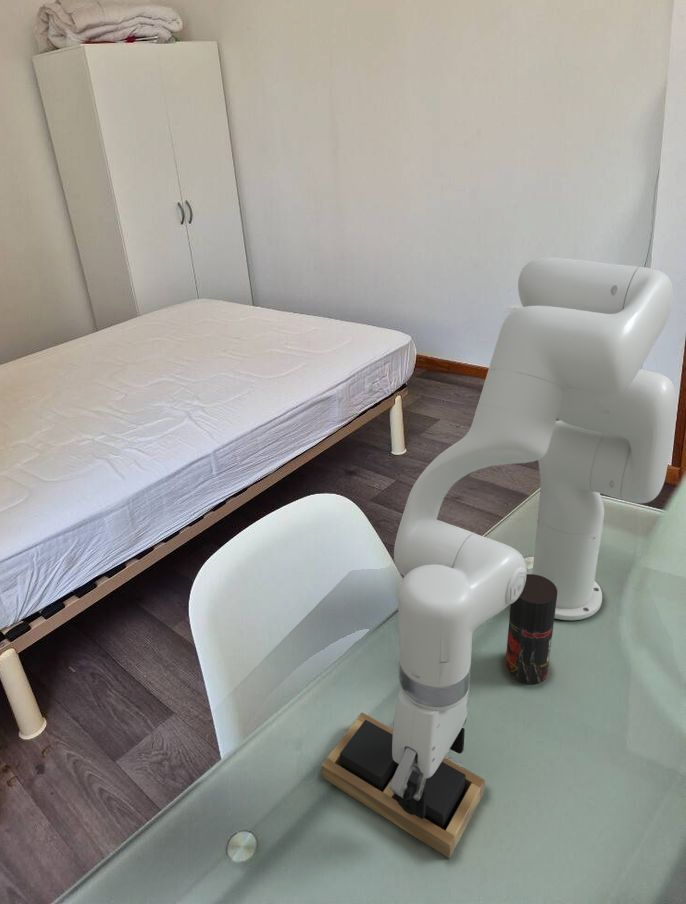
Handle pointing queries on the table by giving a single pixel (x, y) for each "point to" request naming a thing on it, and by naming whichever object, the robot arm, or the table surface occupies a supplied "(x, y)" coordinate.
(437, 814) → the pad loose
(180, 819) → the table surface
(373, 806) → the frame
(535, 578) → the deodorant
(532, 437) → the robot arm
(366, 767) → the pad seated
